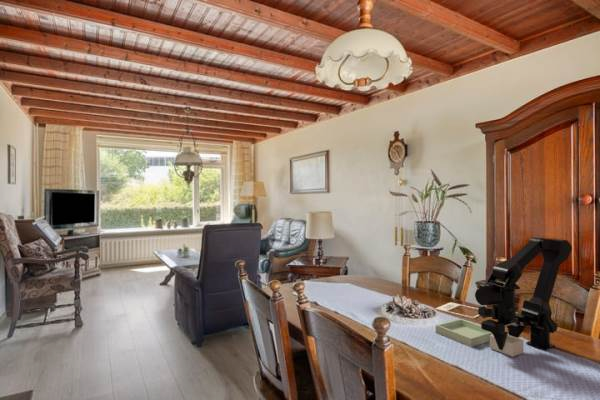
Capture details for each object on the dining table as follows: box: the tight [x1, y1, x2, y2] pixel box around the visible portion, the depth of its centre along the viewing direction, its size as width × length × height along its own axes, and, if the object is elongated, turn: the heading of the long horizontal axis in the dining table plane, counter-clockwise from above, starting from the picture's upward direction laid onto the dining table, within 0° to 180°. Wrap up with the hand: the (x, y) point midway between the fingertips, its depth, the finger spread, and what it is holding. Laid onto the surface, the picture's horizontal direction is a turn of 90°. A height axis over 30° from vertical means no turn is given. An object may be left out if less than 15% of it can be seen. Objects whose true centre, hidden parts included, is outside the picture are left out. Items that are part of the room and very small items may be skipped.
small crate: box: [489, 334, 524, 358], centre depth 119 cm, size 6×8×4 cm
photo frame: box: [434, 301, 481, 320], centre depth 163 cm, size 15×1×18 cm
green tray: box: [435, 318, 493, 348], centre depth 133 cm, size 15×16×3 cm
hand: (506, 347), depth 119 cm, fingers closed on small crate, 6 cm apart
